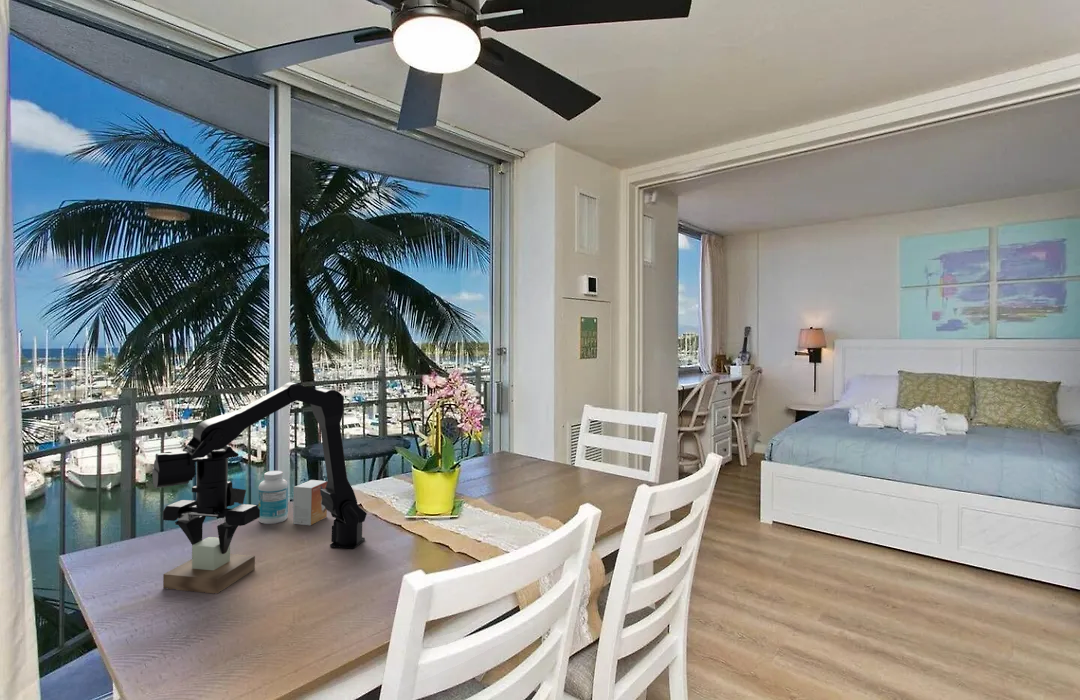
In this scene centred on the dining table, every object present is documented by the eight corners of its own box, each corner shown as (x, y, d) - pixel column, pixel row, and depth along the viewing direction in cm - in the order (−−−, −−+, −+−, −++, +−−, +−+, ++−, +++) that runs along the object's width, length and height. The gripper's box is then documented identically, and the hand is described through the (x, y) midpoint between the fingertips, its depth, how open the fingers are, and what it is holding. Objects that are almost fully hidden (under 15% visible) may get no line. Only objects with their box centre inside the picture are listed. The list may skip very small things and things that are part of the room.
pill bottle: (264, 516, 160) (265, 469, 159) (291, 516, 160) (292, 469, 160) (253, 525, 152) (254, 475, 152) (281, 525, 153) (282, 476, 152)
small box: (310, 526, 152) (311, 488, 152) (292, 524, 153) (293, 486, 153) (327, 517, 160) (328, 480, 160) (310, 515, 161) (310, 479, 161)
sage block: (230, 561, 121) (230, 538, 121) (213, 570, 116) (213, 547, 116) (209, 559, 122) (209, 536, 122) (191, 568, 117) (192, 545, 117)
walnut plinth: (254, 569, 124) (254, 555, 124) (217, 593, 113) (217, 579, 112) (205, 564, 126) (205, 551, 126) (163, 588, 114) (163, 574, 114)
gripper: (275, 473, 126) (274, 541, 126) (199, 468, 128) (199, 535, 128) (243, 486, 114) (242, 561, 115) (160, 480, 117) (160, 554, 117)
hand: (211, 552), depth 119 cm, fingers open, 6 cm apart
